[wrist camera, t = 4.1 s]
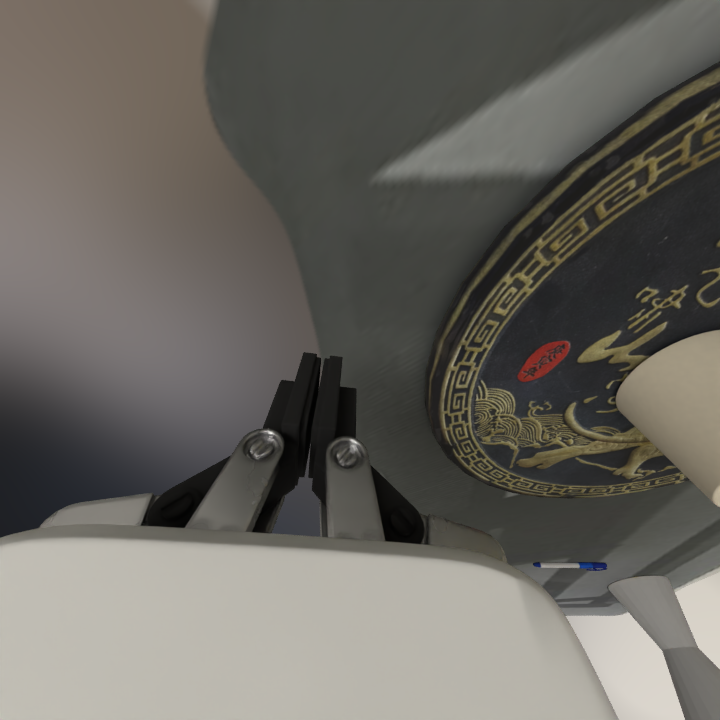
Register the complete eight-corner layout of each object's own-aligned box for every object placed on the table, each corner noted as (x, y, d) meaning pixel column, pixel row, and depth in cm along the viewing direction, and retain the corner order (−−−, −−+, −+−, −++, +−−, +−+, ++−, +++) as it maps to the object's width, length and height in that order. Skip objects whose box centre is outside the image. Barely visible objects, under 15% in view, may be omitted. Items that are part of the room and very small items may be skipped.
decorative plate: (338, 428, 19) (1481, -817, 4) (340, 408, 20) (1144, -523, 5) (584, 526, 28) (1172, 309, 13) (572, 508, 30) (1088, 293, 15)
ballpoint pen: (606, 560, 39) (611, 569, 38) (602, 562, 40) (607, 571, 39) (533, 561, 39) (537, 569, 39) (531, 563, 40) (534, 571, 39)
